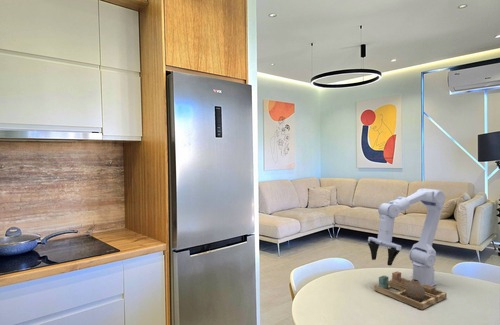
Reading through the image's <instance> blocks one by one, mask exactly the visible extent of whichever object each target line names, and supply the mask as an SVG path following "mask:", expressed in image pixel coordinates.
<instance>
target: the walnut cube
mask: <svg viewBox="0 0 500 325" xmlns="http://www.w3.org/2000/svg"><path fill="white" fill-rule="evenodd" d="M422 287H423V288H424V291H425V292H427V293H430V294H433V295H435V294H436V290H437V289H436V286H430V285H427V284H425V285H422ZM435 296H436V295H435Z"/></svg>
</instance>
